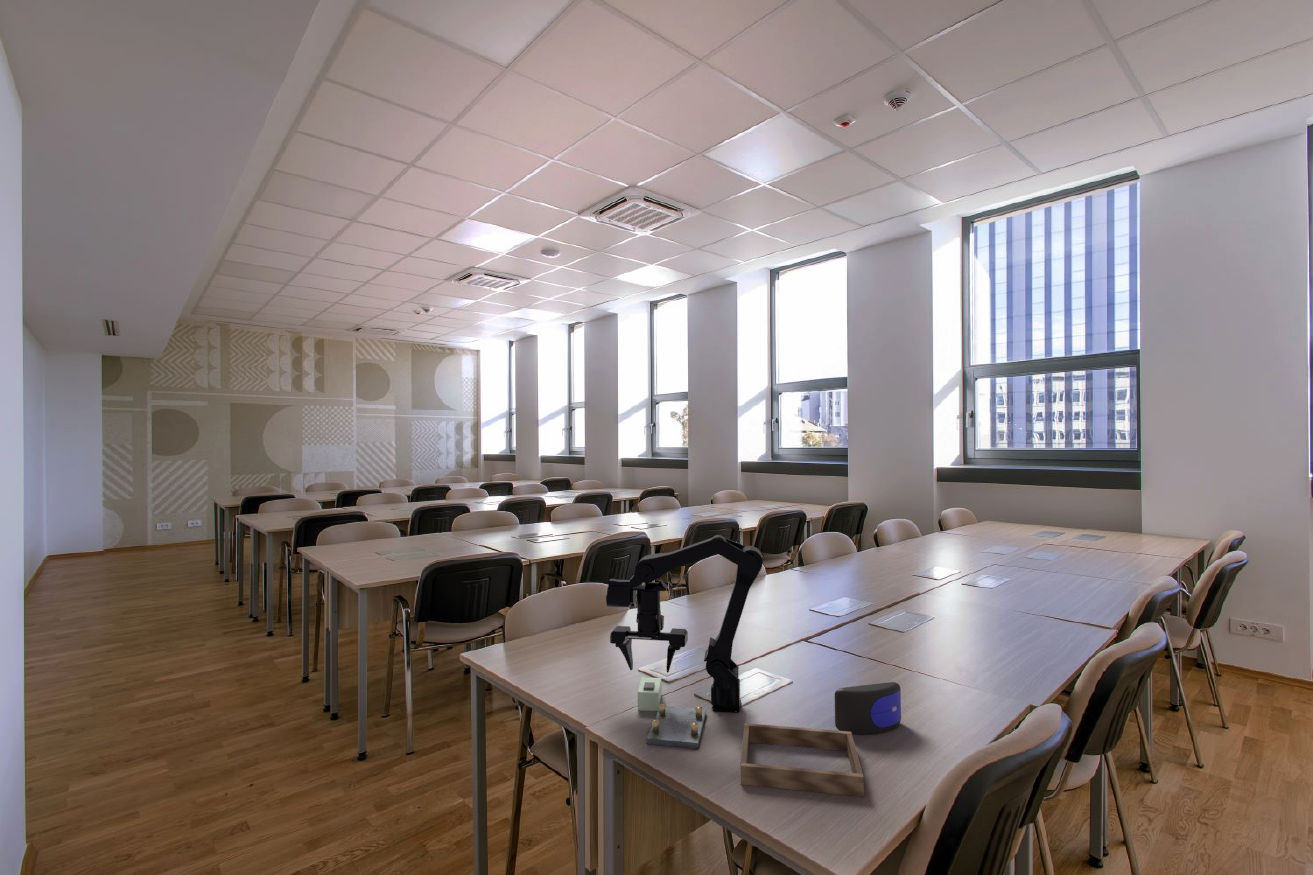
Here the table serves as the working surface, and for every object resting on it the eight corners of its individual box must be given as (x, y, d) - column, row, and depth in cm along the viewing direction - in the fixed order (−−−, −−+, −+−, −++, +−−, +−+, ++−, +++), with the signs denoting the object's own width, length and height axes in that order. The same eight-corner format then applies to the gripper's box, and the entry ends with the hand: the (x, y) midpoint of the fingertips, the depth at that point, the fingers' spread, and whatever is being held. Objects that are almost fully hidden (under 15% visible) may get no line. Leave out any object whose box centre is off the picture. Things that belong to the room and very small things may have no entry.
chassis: (706, 714, 139) (706, 700, 139) (697, 748, 123) (697, 733, 123) (660, 710, 141) (660, 697, 141) (646, 743, 125) (646, 728, 125)
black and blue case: (844, 739, 127) (843, 695, 127) (833, 729, 131) (832, 686, 131) (910, 730, 130) (909, 687, 130) (897, 720, 135) (897, 679, 135)
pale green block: (661, 695, 150) (661, 675, 150) (658, 711, 141) (658, 690, 141) (641, 695, 150) (641, 675, 150) (637, 710, 141) (637, 689, 141)
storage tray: (851, 748, 123) (851, 731, 123) (863, 796, 106) (863, 776, 106) (744, 739, 127) (744, 723, 127) (740, 784, 110) (740, 765, 110)
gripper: (690, 600, 152) (691, 661, 152) (620, 597, 156) (621, 657, 155) (684, 612, 141) (685, 678, 141) (609, 609, 145) (609, 673, 144)
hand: (649, 670), depth 146 cm, fingers open, 9 cm apart
